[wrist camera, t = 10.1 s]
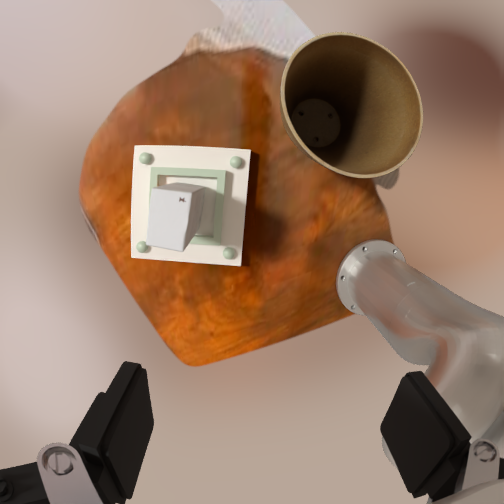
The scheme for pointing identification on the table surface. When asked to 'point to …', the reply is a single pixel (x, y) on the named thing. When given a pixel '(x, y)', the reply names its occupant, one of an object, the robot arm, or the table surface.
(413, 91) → the plant pot
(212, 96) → the table surface
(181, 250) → the skincare box
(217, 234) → the baseplate
